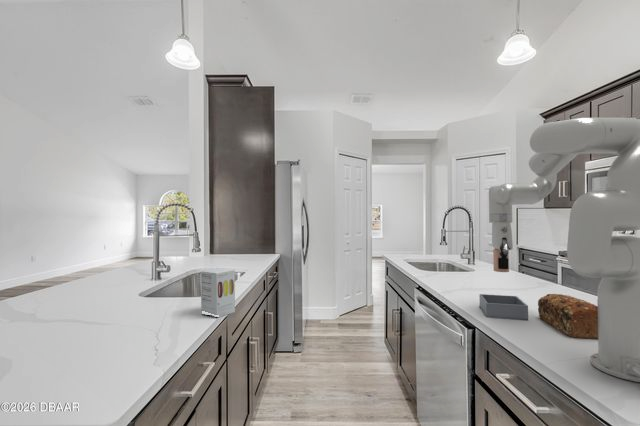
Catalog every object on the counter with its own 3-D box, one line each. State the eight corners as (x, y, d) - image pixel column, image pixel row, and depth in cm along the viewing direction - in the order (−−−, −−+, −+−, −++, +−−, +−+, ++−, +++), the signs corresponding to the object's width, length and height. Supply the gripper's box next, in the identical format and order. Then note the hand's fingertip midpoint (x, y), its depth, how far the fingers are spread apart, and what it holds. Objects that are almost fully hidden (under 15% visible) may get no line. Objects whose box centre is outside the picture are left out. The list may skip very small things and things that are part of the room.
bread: (608, 340, 90) (608, 306, 91) (567, 338, 93) (566, 305, 93) (570, 319, 109) (570, 290, 109) (536, 317, 111) (536, 289, 111)
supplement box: (216, 318, 115) (215, 273, 115) (200, 314, 120) (199, 271, 120) (236, 311, 123) (235, 269, 123) (220, 308, 128) (219, 267, 128)
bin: (528, 320, 108) (528, 305, 108) (486, 317, 112) (486, 303, 112) (516, 309, 120) (516, 296, 120) (479, 306, 124) (479, 294, 124)
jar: (510, 272, 113) (510, 250, 113) (495, 271, 114) (494, 250, 114) (507, 270, 118) (506, 248, 118) (492, 269, 119) (491, 248, 119)
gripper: (519, 219, 107) (520, 272, 107) (505, 218, 123) (506, 264, 123) (494, 219, 109) (495, 271, 109) (484, 218, 125) (485, 263, 125)
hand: (501, 267), depth 116 cm, fingers closed on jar, 5 cm apart
